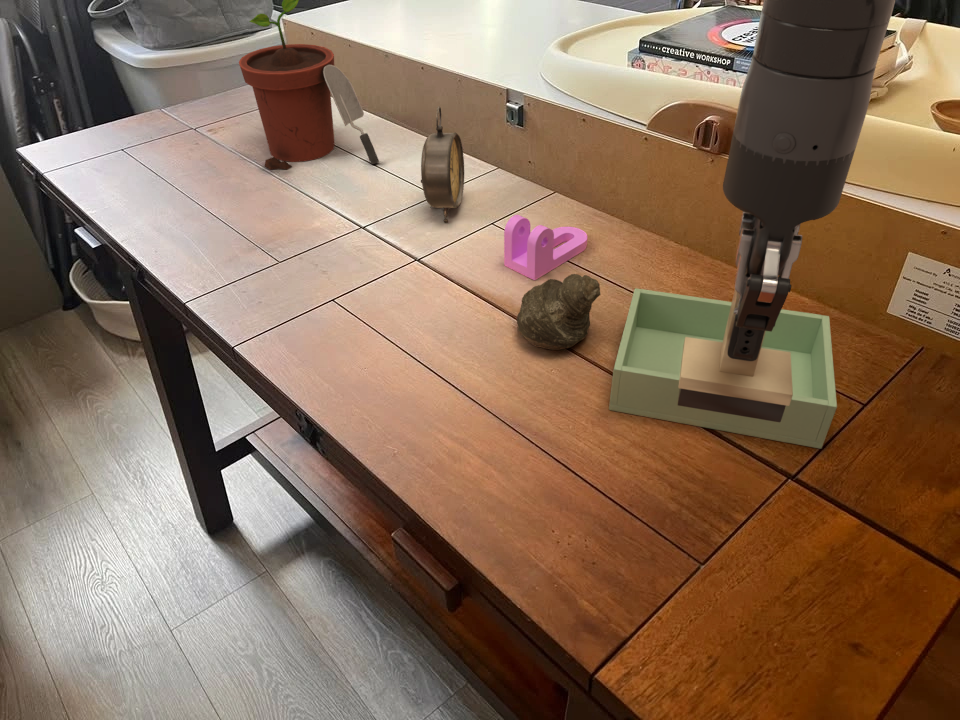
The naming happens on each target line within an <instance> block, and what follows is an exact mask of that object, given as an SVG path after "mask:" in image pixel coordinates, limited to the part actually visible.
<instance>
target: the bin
mask: <svg viewBox="0 0 960 720" xmlns="http://www.w3.org/2000/svg"><path fill="white" fill-rule="evenodd" d="M731 304H732V301H728V300H722V299H721V300H720V299H713V298H707V297H700V296H693V295H686V294H678V293H672V292H664V291H658V290H651V289H645V288H644V289H643V288H636V287H635V288H634V290H633V294H632V297H631V302H630V305H629V309H628V313H627V316H626V320H625V324H624V328H623V332H622V335H621V339H620V343H619V347H618V351H617V355H616V357H615V358H616V359H615V361H614V366H613V369H612V380H611V388H610V395H609V405H608V410H609V411H611V412H612V411H613V412H617V413H618V412H619V413H623V414H628V415H634V416H641V417H646V418H650V419H656V420H662V421H667V422H673V423H679V424H683V425H688V426H694V427H699V428H705V429H711V430H717V431H721V432H726V433H733V434H737V435H742V436H749V437H754V438H760V439H766V440H769V441H770V440H771V441H776V442H780V443H781V442H782V443H787V444H791V445H799V446H804V447H807V448H808V447H809V448H815V449H820V450H822V449H823V446H824V443H825V441H826V438H827V435H828V433H829V431H830V427H831V424H832V422H833V419H834V416H835V414H836V411H837V409H838V403H837V391H836V377H835V369H834V357H833V355H834V354H833V346H832V344H833V343H832V334H831V322H830V321H831V320H830V315H824V314H818V313H811V312H805V311H798V310H790V309H783V308H782V309H781V311H780V314H779V316H778V318H777V321H776V324H775V327H773V330H772V332H770V331H766V332H765V336H764V339H763V343H762V347H761V348H765V349H772V350H778V351H785V352H790V353H791V370H792V388H793V396H792V399H791V402H790V405H789V406H786V407H785V410H784V413H783V416H782V419H781V422H774V421H768V420H762V419H756V418H750V417H744V416H738V415H732V414H726V413H720V412H714V411H708V410H702V409H696V408H690V407H684V406H678V396H679V388H678V386H679V378H680V370H681V362H682V353H683V346H684V341H685V337H690V338H697V339H703V340H710V341H717V342H723V339H724V334H725V330H726V326H727V321H728V317H729V312H730V308H731Z"/></svg>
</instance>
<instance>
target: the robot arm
mask: <svg viewBox="0 0 960 720" xmlns="http://www.w3.org/2000/svg"><path fill="white" fill-rule="evenodd" d="M895 4H896V0H763V3H762V8H761V13H760V16H759V17H760V18H759V23H758V26H757V32H756V37H755V42H754V47H753V54H752V57H751V61H750V64H749V68H748V70H747V72H746V73H747V74H746V76H745V79H744V82H743V85H742V88H741V92H740V97H739V101H738V106H737V110H736V111H737V112H736V116H735V120H734V127H733V132H732V135H731V142H730V147H729V152H728V157H727V162H726V167H725V172H724V177H723V181H722V191H723V195H724V196H725V198H726V200H727V201H729V203H730V204H731V205H732V206H734V207H735V208H736V209H738V210H740V211H742V213H741V217H740V221H739V229H738V230H739V231H738V235H739V240H738V244H737V248H736V253H735V267H736V268H737V269H736V272H735V277H734V291H735V290H736V292H738V293H739V297H738V301H737V306H736V308H734V312H733V315H735V318H734V319H735V320H734V324H733V328H732V332H731V337H730V341H729V345H728V353H727V354H728V356H729V357H730V358H732V359H738V360H745V361H755V360H756V359H757V358H758V354H759V350H760V347H761V343H762V339H763V336H764V332H765V331H770V332H772V330H773V327H775V324H776V321H777V318H778V316H779V314H780V311H781V309H783V307H784V305H785V302H786V300H787V298H788V295H789V293H791V291H792V284H791V278H790V275H791V272H792V268H793V265H794V263H795V262H797V260H798V259H799V255H800V252H801V249H802V244H803V234H799V232H800V228H801V224H803V223H806V222H810V221H816V220H819V219H822V218H824V217H826V216H829V215H830V214H831V213H833V212H834V211H835V210H836V209H837V207H838V206H839V203H840V201H841V196H842V194H843V191H844V188H845V184H846V181H847V179H848V174H849V171H850V169H851V165H852V161H853V159H854V155H855V152H856V148H857V145H858V142H859V139H860V135H861V133H862V129H863V126H864V122H865V119H866V116H867V112H868V108H869V104H870V101H871V95H872V87H873V81H874V75H875V72H876V66H877V63H878V60H879V57H880V53H881V50H882V47H883V44H884V40H885V37H886V33H887V30H888V27H889V25H890V20H891V18H892V15H893V11H894V7H895Z"/></svg>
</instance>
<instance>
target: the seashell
mask: <svg viewBox="0 0 960 720" xmlns="http://www.w3.org/2000/svg"><path fill="white" fill-rule="evenodd" d="M600 296H601V284H600V283H599V281H598V280H597V279H595V278H593V277H591V276H589V275H588V274H587V275H586V274H584V275H583V276H582V275H580V274H577V273H570V275H568V276H566V277H565V278H563V280H562V281H561V280H558V279H553V278H548V279H547V280H545V281H544V282H543V283H541V284H538V285H535V286H533V287H532V288H531V289H529V290H527V292H526V293H524V294H523V296H522V298H521V305H520V309H519V312H518V313H517V314H516V324H517V332H519V333H520V334H521V336H523V338H524V339H525V340H526V341H528V342H529V343H530V344H531V345H533V346H535V347H537V348H543V349H546V350H553V351H558V350H565V349H569V348H572V347H574V346H575V345H576V344H577V343H580V342H581V341H582V340H583V339H585V338H586V336H587V335H588V332H589V329H590V326H591V320H590V312H591V310H592V307H593V303H594V302H595V301H596V299H598V298H599V297H600Z"/></svg>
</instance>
